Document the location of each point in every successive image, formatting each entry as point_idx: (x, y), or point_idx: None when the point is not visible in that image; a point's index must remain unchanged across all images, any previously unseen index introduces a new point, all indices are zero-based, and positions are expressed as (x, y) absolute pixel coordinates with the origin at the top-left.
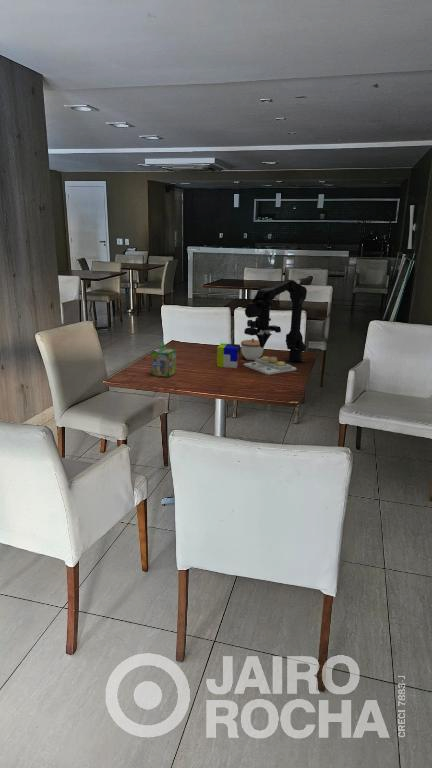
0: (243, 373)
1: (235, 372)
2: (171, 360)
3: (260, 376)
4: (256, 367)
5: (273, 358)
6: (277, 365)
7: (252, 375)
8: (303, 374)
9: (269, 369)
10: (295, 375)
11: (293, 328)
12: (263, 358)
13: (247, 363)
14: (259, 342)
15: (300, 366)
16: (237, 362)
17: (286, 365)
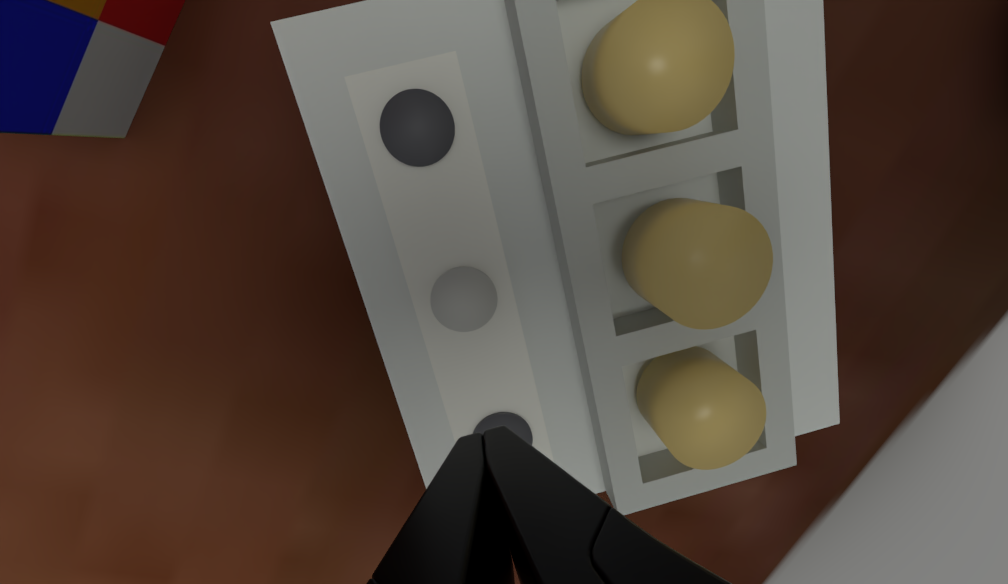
0: (161, 427)
1: (58, 365)
2: None
3: (331, 564)
4: (392, 300)
5: (686, 323)
6: (647, 411)
7: (252, 519)
8: (780, 561)
9: None
10: None
11: None
12: (608, 98)
13: (339, 32)
14: (404, 539)
15: (960, 285)
16: (118, 45)
17: None
